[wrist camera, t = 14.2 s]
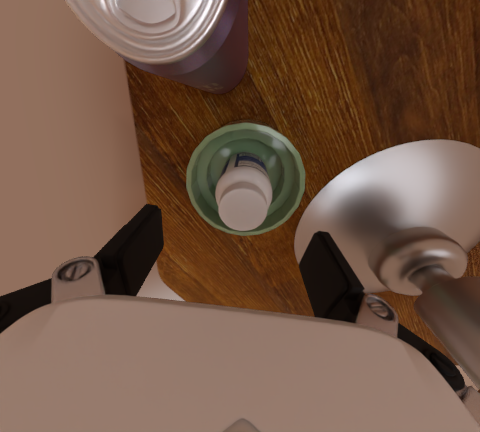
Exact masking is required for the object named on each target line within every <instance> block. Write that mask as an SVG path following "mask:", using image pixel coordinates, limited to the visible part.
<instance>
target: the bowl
mask: <svg viewBox="0 0 480 432" xmlns="http://www.w3.org/2000/svg"><path fill="white" fill-rule="evenodd" d="M239 152H251V153H253V154H256V155H257V156H259V157H260V158H261V159H262V161H263V162H264V164H265V167H266V169H267V173H268V176H269V180H270V183H271V186H272V201H271V204H270V206H269V208H268V211H267V216H266V218H265V220H264V221H263V223H262V224H261V225H260V226H258V227H257V228H255V229H252V230H248V231H238V230H234V229H232V228H230V227H228V226H227V225H226V224H225V223H224V222H223V221H222V220H221V218H220V216H219V212H218V204H217V202H216V197H215V191H216V186H217V183H218V180H219V178H220V176H221V173H222V171H223V168H224V165H225V164H226V162H227V161H228V159H229V158H230V157H231V156H233V155H234V154H236V153H239ZM186 187H187V191H188V194H189V197H190V200H191V203H192V205H193V206H194V208H195V209H196V210H197V212H198V213H199V215H200V216H201V217H202V218H203V219H204V220H206V221H207V222H208V223H209V224H211V225H212V226H213V227H215V228H217V229H219V230H222V231H224V232H226V233H229V234H235V235H242V236H247V235H258V234H262V233H265V232H267V231H270V230H273V229H275V228H277V227H278V226H279V225H281V224H282V223H284V222H285V221H287V220H288V219H289V217H290V216H291V215H292V214H293V212H294V211H295V210H296V209H297V207H298V206H299V203H300V201H301V198H302V196H303V193H304V190H305V170H304V166H303V163H302V160H301V157H300V154H299V153H298V151H297V150H296V149H295V147H294V146H293V145H292V144H291V142H290V141H289V140H288V138H286V137H285V136H284V135H283V134H282V133H281V132H279V131H278V130H276V129H275V128H273V127H272V126H270V125H268V124H267V123H265V122H261V121H256V120H251V119H242V120H236V121H230V122H228V123H226V124H225V125H223V126H221V127H219V128H218V129H216V130H214V131H213V132H212V133H210V134H209V135H207V136H206V137H205V138H204V139H203V141H202V142H201V143H200V144H199V145H198V147H197V148H196V149H195V150H194V151H193V153H192V156H191V159H190V162H189V164H188V167H187V178H186Z"/></svg>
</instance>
